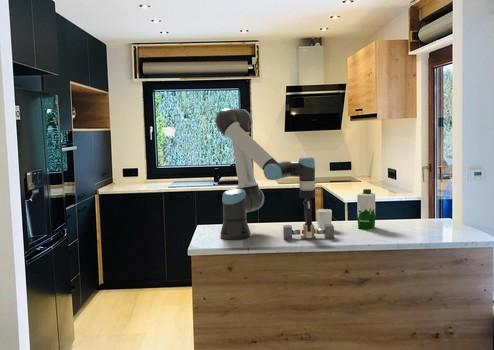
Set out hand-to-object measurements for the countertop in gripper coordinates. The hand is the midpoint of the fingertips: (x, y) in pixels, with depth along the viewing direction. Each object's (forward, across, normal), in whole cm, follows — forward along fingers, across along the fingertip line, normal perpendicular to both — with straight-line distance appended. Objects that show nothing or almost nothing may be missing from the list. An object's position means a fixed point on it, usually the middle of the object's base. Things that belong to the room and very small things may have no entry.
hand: (308, 236), depth 235 cm
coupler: (0, 0, 0) cm, 0 cm away
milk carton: (+1, +20, -32) cm, 38 cm away
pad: (+1, 0, 0) cm, 1 cm away
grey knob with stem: (+1, 0, -8) cm, 8 cm away
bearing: (+1, 0, +8) cm, 8 cm away
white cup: (+1, +19, -10) cm, 22 cm away
